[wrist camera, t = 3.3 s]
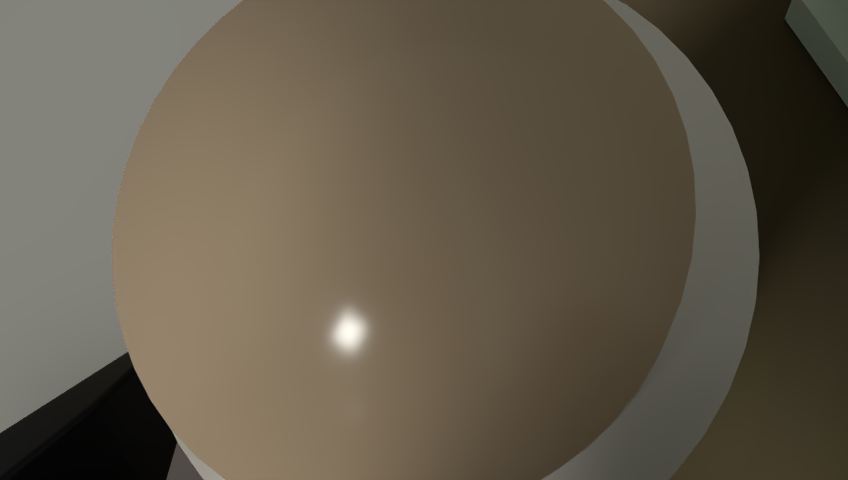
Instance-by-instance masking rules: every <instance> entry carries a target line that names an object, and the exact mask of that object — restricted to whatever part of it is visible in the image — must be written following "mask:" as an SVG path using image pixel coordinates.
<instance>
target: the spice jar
mask: <svg viewBox="0 0 848 480" xmlns="http://www.w3.org/2000/svg"><path fill="white" fill-rule="evenodd" d="M759 257H760V256H759V241H758V225H757V211H756V206H755V201H754V197H753V192H752V187H751V183H750V178H749V173H748V169H747V166H746V163H745V160H744V158H743V155H742V152H741V150H740V147H739V144H738V141H737V139H736V136H735V133H734V131H733V128H732V126H731V124H730V122H729V121H728V119H727V117H726V115H725V113H724V111H723V110H722V108H721V106H720V104H719V102H718V100H717V99H716V97H715V95H714V93H713V91H712V90H711V88H710V87H709V86H708V84H707V83H706V82H705V80H704V79H703V78H702V76H701V75H700V74H699V72H698V71H697V70H696V68H695V67H694V66H693V64H692V63H691V62H690V61H689V59H688V58H687V57H686V56H685V55H684V54H683V53H682V52H681V51H680V50H679V49H678V48H677V47H676V46H675V45H674V44H673V43H672V42H671V41H670V40H669V39H668V38H667V37H666V36H665V35H664V34H663V33H662V32H661V31H660V30H659V29H658V28H657V27H655V26H654V25H653V24H651V23H650V22H649V21H647V20H646V19H645V18H643V17H642V16H641V15H639V14H638V13H637V12H635V11H634V10H633V9H631V8H630V7H629V6H627V5H626V4H624V3H622V2H620V1H619V0H243V1H242V2H241V3H240V4H238V5H237V6H236V7H235V8H234V9H232V10H231V11H230V12H228V13H227V14H226V15H225V16H223V17H222V18H221V19H220V20H219V21H218V22H217V23H216V24H215V25H214V26H213V27H212V28H211V29H210V30H209V31H208V32H207V33H206V34H205V35H204V36H203V37H202V38H201V39H200V40H199V41H198V42H197V43H196V44H195V45H194V46H193V47H192V49H191V50H190V51H189V52H188V54H187V55H186V56H185V58H183V60H182V61H181V62H180V63H179V65H178V66H177V67H176V68H175V69H174V71H173V72H172V74H171V76H170V77H169V79H168V80H167V82H166V83H165V85H164V86H163V88H162V89H161V91H160V92H159V94H158V95H157V97H156V98H155V100H154V102H153V104H152V106H151V108H150V110H149V112H148V114H147V116H146V118H145V120H144V122H143V124H142V125H141V127H140V130H139V132H138V135H137V137H136V140H135V142H134V145H133V147H132V150H131V153H130V156H129V158H128V161H127V164H126V168H125V171H124V175H123V179H122V182H121V186H120V190H119V194H118V198H117V205H116V212H115V219H114V226H113V240H112V274H113V284H114V296H115V303H116V308H117V313H118V316H119V322H120V326H121V331H122V335H123V338H124V341H125V343H126V347H127V349H128V352H129V355H130V358H131V361H132V363H133V366H134V369H135V371H136V373H137V375H138V377H139V379H140V381H141V382H142V384H143V386H144V388H145V390H146V392H147V394H148V396H149V398H150V400H151V402H152V403H153V404H154V406H155V407H156V409H157V410H158V411H159V413H160V414H161V416H162V417H163V419H164V420H165V421H166V423H167V424H168V426H169V427H170V429H171V430H172V432H173V434H174V436H175V438H176V440H177V442H178V444H179V445H180V447H181V448H182V450H183V451H184V453H185V454H186V455H187V457H188V458H189V460H190V461H191V463H192V464H193V465H194V467H195V468H196V470H197V471H198V473H199V474H200V475H201V477H202V478H203V479H204V480H669V479H670V478H671V477H672V476H673V475H674V474H675V472H676V471H677V470H678V469H679V467H680V466H681V465H682V463H683V462H684V461H685V459H686V458H687V457H688V456H689V454H690V453H691V452H692V450H693V449H694V448H695V447H696V445H697V444H698V443H699V441H700V440H701V439H702V437H703V436H704V435H705V433H706V431H707V429H708V428H709V426H710V424H711V422H712V421H713V419H714V417H715V415H716V413H717V412H718V410H719V408H720V406H721V405H722V403H723V401H724V399H725V397H726V396H727V394H728V392H729V389H730V387H731V384H732V381H733V379H734V376H735V374H736V371H737V368H738V366H739V363H740V361H741V358H742V356H743V353H744V350H745V347H746V343H747V339H748V334H749V330H750V326H751V321H752V317H753V313H754V308H755V304H756V294H757V281H758V269H759Z"/></svg>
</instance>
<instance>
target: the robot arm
mask: <svg viewBox="0 0 848 480" xmlns="http://www.w3.org/2000/svg"><path fill="white" fill-rule="evenodd" d="M176 444H177V440H176V438H175V436H174V434H173V432H172V430H171V429H170V427H169V426H168V424H167V423H166V421H165V420H164V419H163V417H162V416H161V414H160V413H159V411H158V410H157V409H156V407H155V406H154V404H153V403H152V402H151V400H150V398H149V396H148V394H147V392H146V390H145V388H144V386H143V384H142V382H141V381H140V379H139V377H138V375H137V373H136V371H135V369H134V366H133V363H132V361H131V358H130V355H129V352H127V353H126V354H124V355H122V356H121V357H119V358H117V359H116V360H114V361H113V362H111V363H110V364H108V365H106V366H105V367H103V368H102V369H100V370H99V371H97V372H95V373H94V374H92V375H91V376H89V377H88V378H86V379H84V380H83V381H81V382H80V383H78V384H77V385H75V386H74V387H72V388H70V389H69V390H67V391H66V392H64V393H62V394H61V395H60V396H58V397H56V398H55V399H53V400H52V401H50V402H49V403H47V404H45V405H44V406H42V407H40V408H39V409H37V410H36V411H34V412H33V413H31V414H30V415H28V416H27V417H25V418H23V419H22V420H20V421H18V422H17V423H16V424H14V425H12V426H11V427H9V428H8V429H6V430H4V431H3V432H1V433H0V480H166V478H167V475H168V472H169V468H170V465H171V461H172V458H173V454H174V451H175V448H176Z"/></svg>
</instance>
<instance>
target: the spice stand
mask: <svg viewBox="0 0 848 480" xmlns="http://www.w3.org/2000/svg"><path fill="white" fill-rule="evenodd" d="M785 20H786V22H787V23H788V24H789V26H790V27H791V29H792V30H793V31H794V33H795V34H796V36H797V37H798V38H799V40H800V41H801V43H802V44H803V45H804V47H805V48H806V50H807V51H808V52H809V54H810V55H811V57H812V58H813V59H814V61H815V62H816V64H817V65H818V66H819V68H820V69H821V71H822V72H823V73H824V75H825V76H826V78H827V79H828V80H829V82H830V83H831V85H832V86H833V87H834V89H835V90H836V92H837V93H838V94H839V96H840V97H841V99H842V100H843V101H844V103H845V104H846V106H847V107H848V0H792V1H791V3H790V6H789V8H788V11H787V14H786V16H785Z"/></svg>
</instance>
